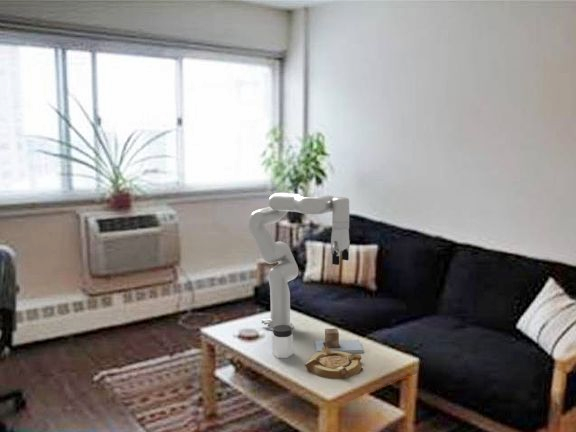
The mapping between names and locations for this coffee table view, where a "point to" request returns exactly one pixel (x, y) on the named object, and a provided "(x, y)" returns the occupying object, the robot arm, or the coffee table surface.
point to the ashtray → (334, 364)
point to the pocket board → (342, 346)
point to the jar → (282, 341)
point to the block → (331, 338)
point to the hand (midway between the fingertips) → (340, 262)
